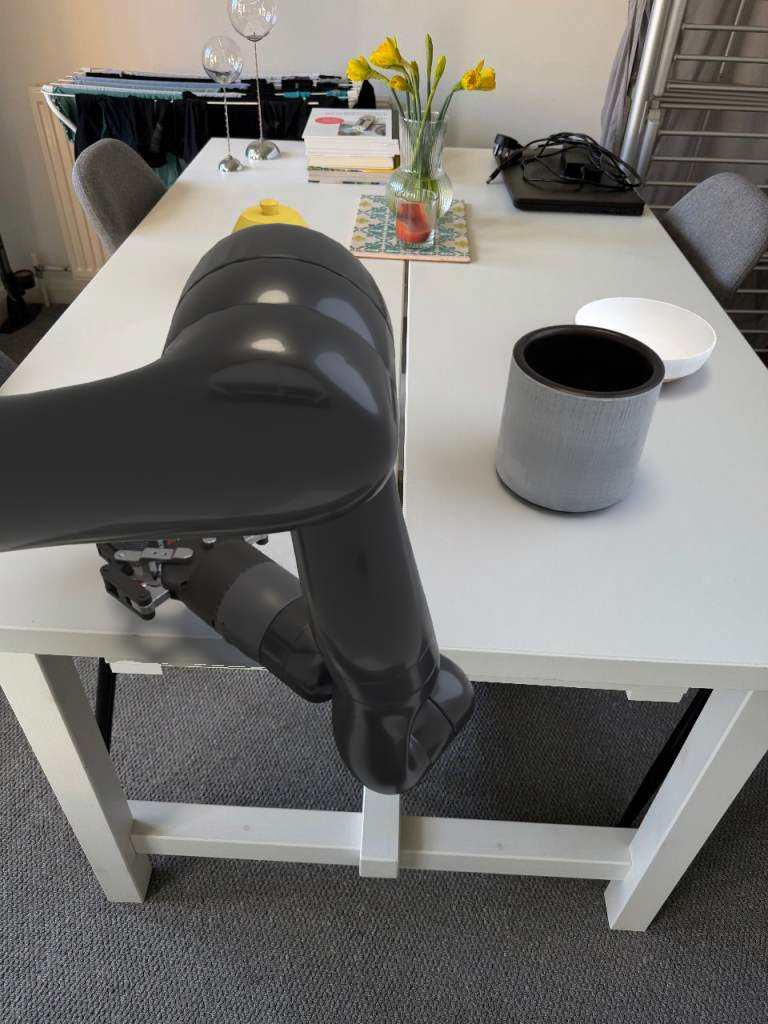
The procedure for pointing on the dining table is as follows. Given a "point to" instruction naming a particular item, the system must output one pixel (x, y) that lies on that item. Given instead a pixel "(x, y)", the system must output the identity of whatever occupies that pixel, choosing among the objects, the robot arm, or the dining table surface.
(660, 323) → the bowl
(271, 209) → the teapot
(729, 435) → the dining table surface
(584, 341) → the planter
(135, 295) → the dining table surface
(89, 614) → the dining table surface
